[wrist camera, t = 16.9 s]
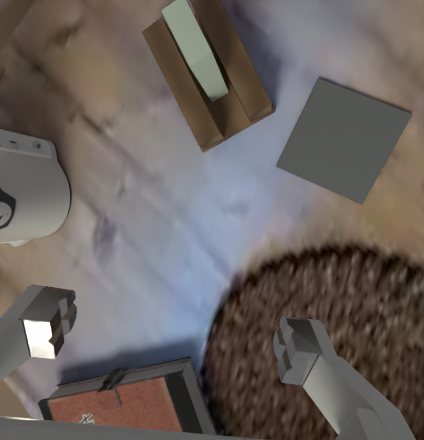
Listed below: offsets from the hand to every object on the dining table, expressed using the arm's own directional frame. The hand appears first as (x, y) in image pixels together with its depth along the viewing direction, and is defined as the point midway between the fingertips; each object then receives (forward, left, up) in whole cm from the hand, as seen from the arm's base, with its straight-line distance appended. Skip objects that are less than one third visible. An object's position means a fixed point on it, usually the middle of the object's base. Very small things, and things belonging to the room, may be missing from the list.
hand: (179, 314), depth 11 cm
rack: (-13, +16, -29) cm, 36 cm away
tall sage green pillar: (-13, +16, -28) cm, 35 cm away
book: (-3, -37, -30) cm, 48 cm away
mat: (+6, +15, -29) cm, 33 cm away
